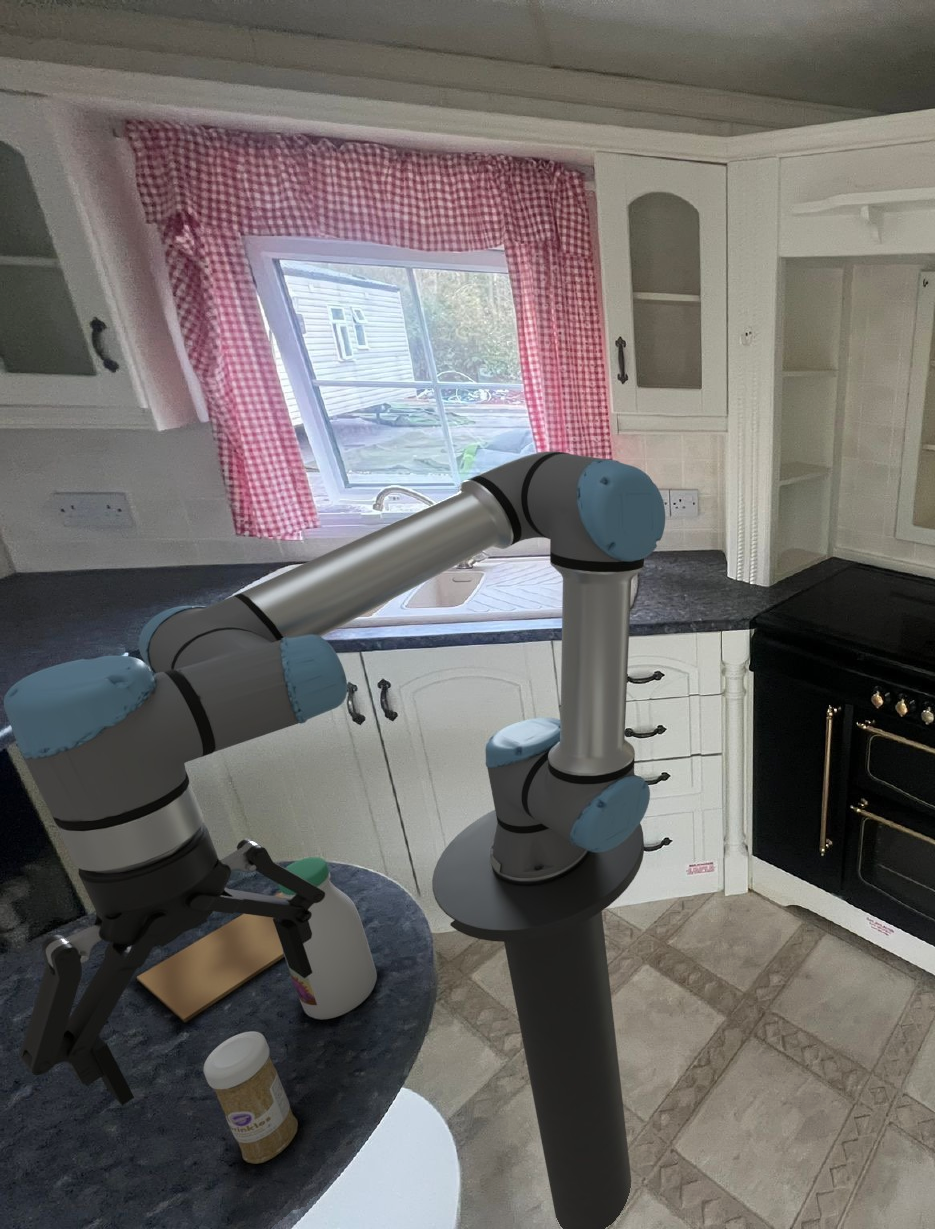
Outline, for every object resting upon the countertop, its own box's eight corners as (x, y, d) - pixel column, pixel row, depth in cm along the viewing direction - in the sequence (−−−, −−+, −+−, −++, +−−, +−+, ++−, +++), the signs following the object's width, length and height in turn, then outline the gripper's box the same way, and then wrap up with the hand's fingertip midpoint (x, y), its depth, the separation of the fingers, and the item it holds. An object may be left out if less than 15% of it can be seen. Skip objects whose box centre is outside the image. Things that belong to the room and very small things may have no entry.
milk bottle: (383, 959, 87) (349, 839, 80) (371, 1009, 81) (333, 884, 73) (313, 977, 84) (271, 855, 77) (295, 1030, 78) (247, 903, 70)
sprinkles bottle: (237, 1174, 64) (194, 1085, 59) (250, 1128, 68) (210, 1040, 63) (294, 1151, 66) (257, 1063, 61) (304, 1108, 70) (269, 1021, 65)
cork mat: (280, 895, 96) (279, 892, 96) (328, 927, 92) (327, 924, 91) (137, 980, 83) (136, 976, 83) (184, 1022, 78) (183, 1019, 78)
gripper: (290, 754, 65) (338, 916, 73) (-127, 935, 44) (2, 1136, 52) (335, 777, 62) (380, 944, 70) (-90, 983, 41) (41, 1188, 49)
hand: (219, 1026), depth 61 cm, fingers open, 13 cm apart
